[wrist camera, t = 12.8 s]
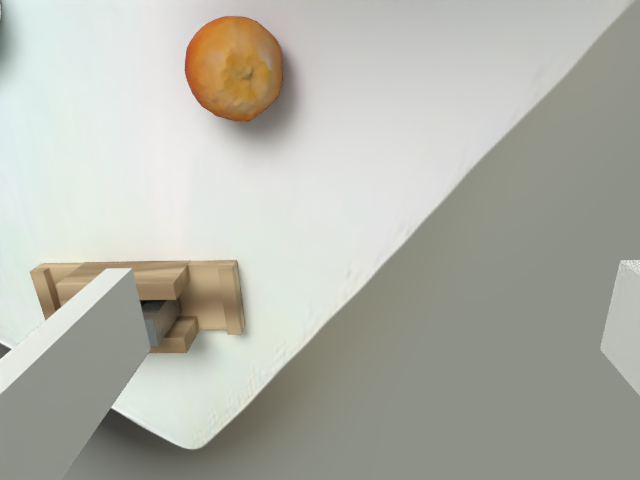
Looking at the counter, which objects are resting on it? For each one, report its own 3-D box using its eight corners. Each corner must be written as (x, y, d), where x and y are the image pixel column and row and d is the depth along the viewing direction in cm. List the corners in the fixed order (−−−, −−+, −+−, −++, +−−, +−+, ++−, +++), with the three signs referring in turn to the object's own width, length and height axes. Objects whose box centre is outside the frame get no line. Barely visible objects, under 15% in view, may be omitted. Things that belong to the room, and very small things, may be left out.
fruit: (178, 2, 37) (200, 4, 31) (266, 24, 41) (302, 30, 35) (170, 101, 40) (189, 121, 34) (253, 112, 44) (283, 132, 38)
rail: (41, 263, 49) (8, 285, 45) (236, 259, 48) (223, 282, 43) (61, 325, 52) (31, 352, 48) (245, 324, 51) (233, 352, 46)
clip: (97, 287, 49) (61, 320, 43) (177, 286, 48) (151, 319, 42) (103, 311, 50) (69, 346, 44) (181, 311, 49) (157, 346, 43)
